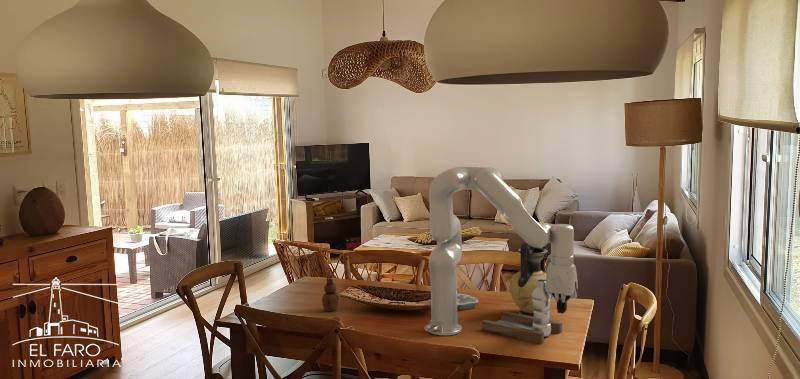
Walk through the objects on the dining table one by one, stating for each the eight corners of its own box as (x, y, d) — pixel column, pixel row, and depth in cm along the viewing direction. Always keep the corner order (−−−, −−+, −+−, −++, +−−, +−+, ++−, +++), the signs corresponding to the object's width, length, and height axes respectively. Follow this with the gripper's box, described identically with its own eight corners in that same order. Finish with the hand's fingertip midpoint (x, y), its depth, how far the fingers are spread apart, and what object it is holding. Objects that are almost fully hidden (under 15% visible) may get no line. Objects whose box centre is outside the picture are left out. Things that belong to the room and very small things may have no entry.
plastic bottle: (553, 338, 226) (553, 282, 224) (533, 338, 226) (533, 283, 224) (549, 332, 233) (549, 278, 230) (530, 332, 233) (530, 278, 230)
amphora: (543, 324, 242) (543, 245, 239) (502, 316, 252) (502, 241, 249) (560, 312, 257) (561, 237, 253) (521, 305, 266) (521, 234, 263)
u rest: (541, 344, 221) (541, 334, 221) (482, 330, 237) (482, 321, 236) (562, 332, 233) (562, 322, 232) (504, 319, 248) (504, 310, 248)
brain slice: (472, 299, 278) (472, 292, 278) (481, 310, 262) (481, 303, 261) (427, 301, 276) (427, 294, 276) (434, 313, 259) (434, 306, 259)
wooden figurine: (327, 313, 261) (326, 277, 259) (320, 310, 265) (318, 275, 264) (341, 310, 265) (340, 274, 263) (334, 307, 270) (332, 272, 268)
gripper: (537, 259, 223) (536, 311, 225) (577, 265, 214) (577, 319, 216) (547, 255, 229) (547, 306, 231) (587, 261, 219) (586, 313, 221)
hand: (561, 312), depth 223 cm, fingers closed
